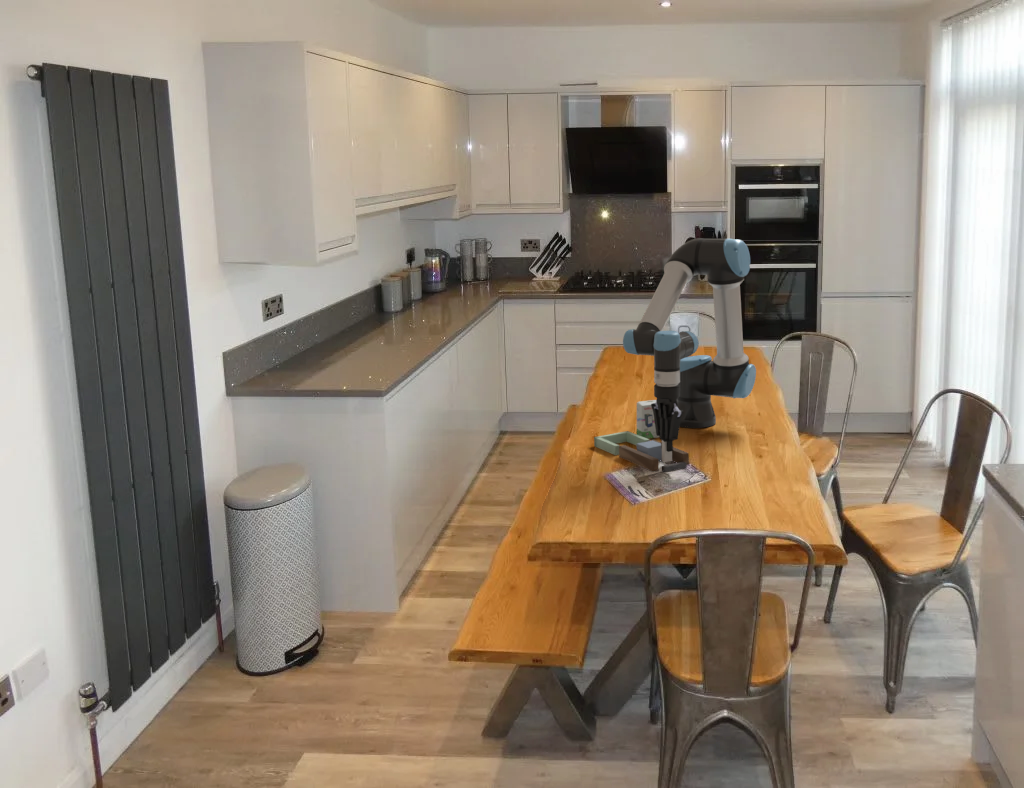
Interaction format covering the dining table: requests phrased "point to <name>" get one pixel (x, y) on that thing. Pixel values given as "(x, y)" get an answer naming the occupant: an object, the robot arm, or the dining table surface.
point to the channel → (650, 457)
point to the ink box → (646, 420)
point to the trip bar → (674, 466)
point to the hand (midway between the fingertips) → (666, 460)
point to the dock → (617, 441)
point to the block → (651, 449)
